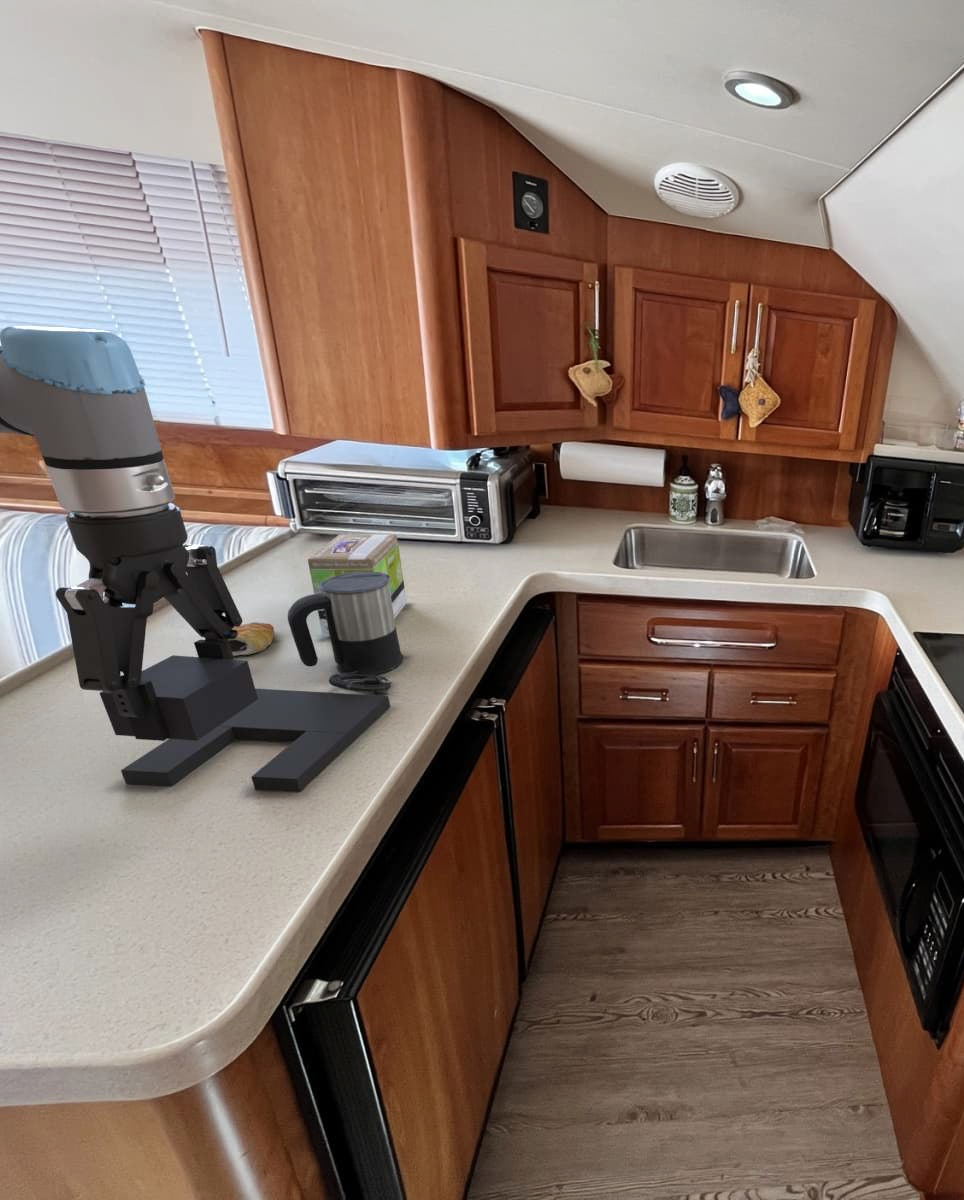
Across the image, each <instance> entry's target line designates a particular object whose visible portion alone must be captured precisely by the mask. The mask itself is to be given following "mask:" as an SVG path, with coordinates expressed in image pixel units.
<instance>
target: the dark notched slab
mask: <svg viewBox="0 0 964 1200" xmlns="http://www.w3.org/2000/svg"><path fill="white" fill-rule="evenodd" d="M255 690H256V693H257V697H258V700H256V701H255V702H253V703H252V704H250V705H249V706H247V707H246V708H245V709H243V710H242V711H240V712H239V713H237V714H236V715H234V716H233V717H231V718H230V719H228V720H227V721H225V722H224V723H222V724H221V725H219V726H218V727H216V728H215V729H213V730H212V731H210V732H209V733H208V734H206V735H205V736H203V737H202V738H200V739H199V740H197V741H195V740H180V739H166V740H165V741H162V743H160V744H159V745H157V746H156V747H154V748H153V749H151V750H150V751H148V752H147V753H145V754H143V755H142V756H140V757H138V758H137V759H136V760H134V761H133V762H131V763H129V764H128V765H127V766H125V767H124V768H122V769H120V772H121V775H122V778H123V780H124V783H125V784H126V785H139V786H140V785H141V786H161V787H173V786H174V785H176V784H177V783H178V782H180V781H181V780H183V779H184V778H185V777H187V776H188V775H189V774H191V773H192V772H193V771H195V770H196V769H198V768H199V767H200V766H202V765H203V764H204V763H206V762H207V761H208V760H210V759H211V758H213V757H214V756H215V755H216V754H218V753H220V752H221V751H222V750H223V749H225V748H227V746H229V745H230V744H232V743H233V742H234V741H236V740H239V741H241V740H242V741H257V742H258V741H261V742H279V743H281V742H282V743H290V744H289V745H288V746H286V748H284V749H283V750H282V751H281V752H279V753H278V754H277V755H276V756H274V757H273V758H272V759H271V760H270V761H268V762H267V763H266V764H265V765H264V766H262V767H260V769H259V770H258V771H256V772H255V773H254V774H253V775H251V776H250V777H251V781H252V784H253V788H254V790H255V791H263V792H266V791H267V792H284V793H285V792H287V793H288V792H289V793H301V792H303V790H305V789H306V788H307V787H308V786H309V785H310V784H311V783H312V782H313V781H314V780H315V779H316V778H318V776H319V775H320V774H321V773H322V772H323V771H325V769H327V768H328V767H329V766H330V765H331V764H332V763H333V762H334V761H335V760H336V759H337V758H338V757H339V756H340V755H342V754H343V753H344V752H345V751H346V750H347V749H348V748H349V747H350V746H351V745H352V744H353V743H354V742H355V741H356V740H357V739H359V738H360V736H362V735H363V734H364V733H365V732H366V731H367V730H368V729H369V728H370V727H371V726H372V725H373V724H375V722H376V721H378V720H379V719H380V718H381V717H382V716H383V715H384V714H385V713H386V712H387V711H388V710H389V709H390V708H391V701H390V697H389V695H381V694H380V695H379V694H361V693H344V692H343V693H342V692H325V691H308V690H307V691H306V690H291V689H289V690H286V689H273V688H255Z"/></svg>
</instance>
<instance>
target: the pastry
mask: <svg viewBox="0 0 964 1200" xmlns="http://www.w3.org/2000/svg"><path fill="white" fill-rule="evenodd" d="M232 630H237V631H238V635H237V637H236V638H235V639H229V643H230V646H231V650H232V653H233V657H237V656H248V655H253V654H258V653H260V652H263V651H264V650H266V649H267V647H268V646H270V645H272V642H273V641H274V638H275V627H274V626H273V625H272V624H271V623H265V622H257V621H255V622H249V623H244V624H241V625H240V626H239V627H234V628H233V629H232Z"/></svg>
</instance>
